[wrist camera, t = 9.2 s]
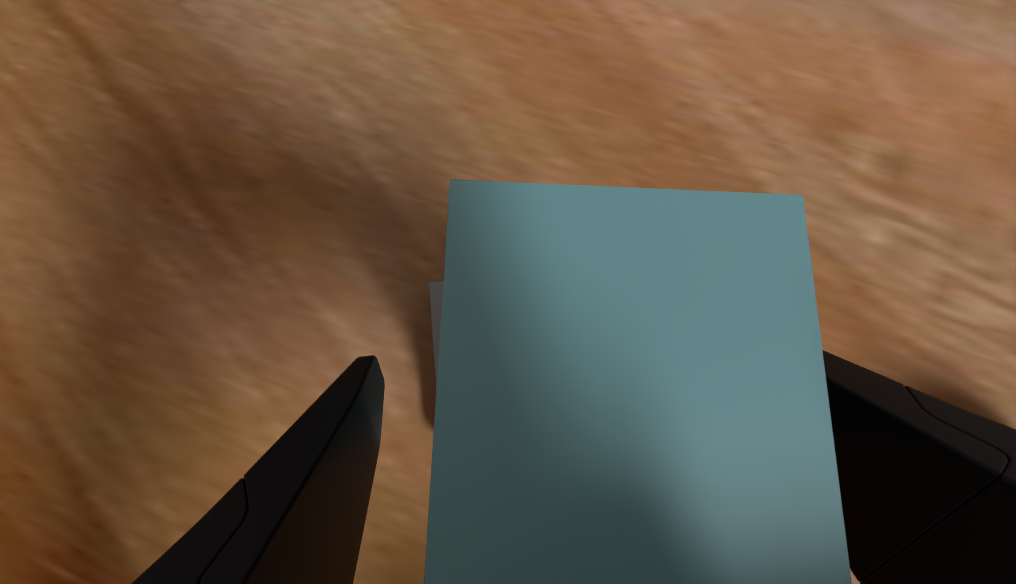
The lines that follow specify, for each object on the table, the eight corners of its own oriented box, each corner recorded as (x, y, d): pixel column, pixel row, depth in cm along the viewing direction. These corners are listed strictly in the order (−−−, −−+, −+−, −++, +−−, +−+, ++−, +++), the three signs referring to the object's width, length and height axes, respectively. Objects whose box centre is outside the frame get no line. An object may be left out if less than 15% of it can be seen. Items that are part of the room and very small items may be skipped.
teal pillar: (583, 416, 17) (853, 594, 4) (478, 413, 17) (423, 588, 4) (583, 311, 18) (802, 195, 5) (482, 307, 18) (449, 179, 5)
